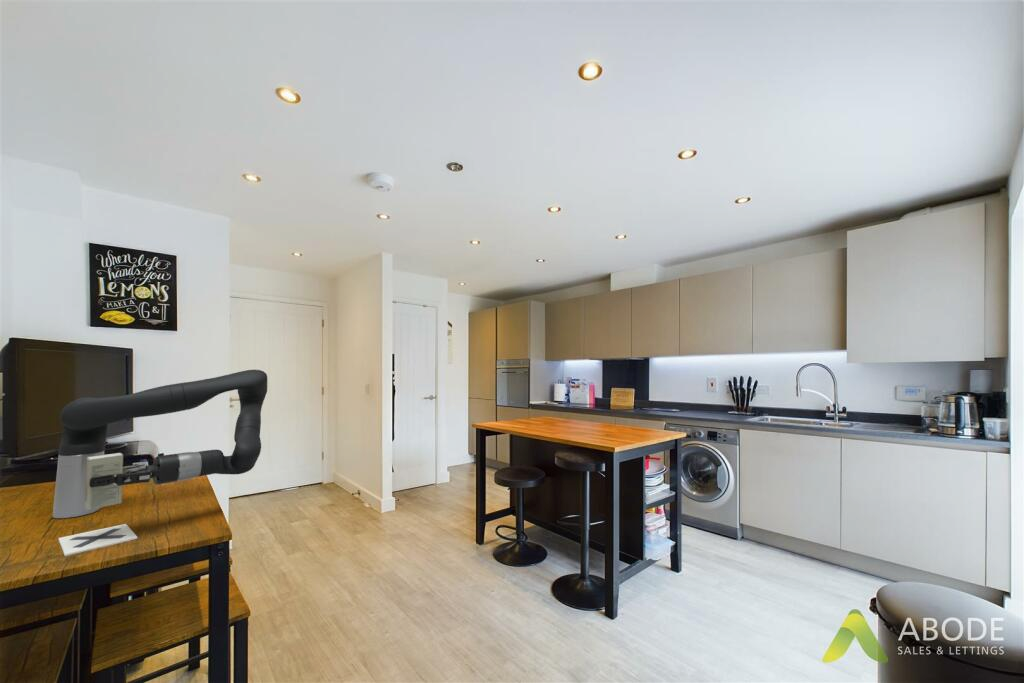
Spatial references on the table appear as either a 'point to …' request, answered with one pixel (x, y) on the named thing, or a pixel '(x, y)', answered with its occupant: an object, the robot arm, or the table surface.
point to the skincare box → (105, 493)
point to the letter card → (96, 539)
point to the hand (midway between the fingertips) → (88, 481)
